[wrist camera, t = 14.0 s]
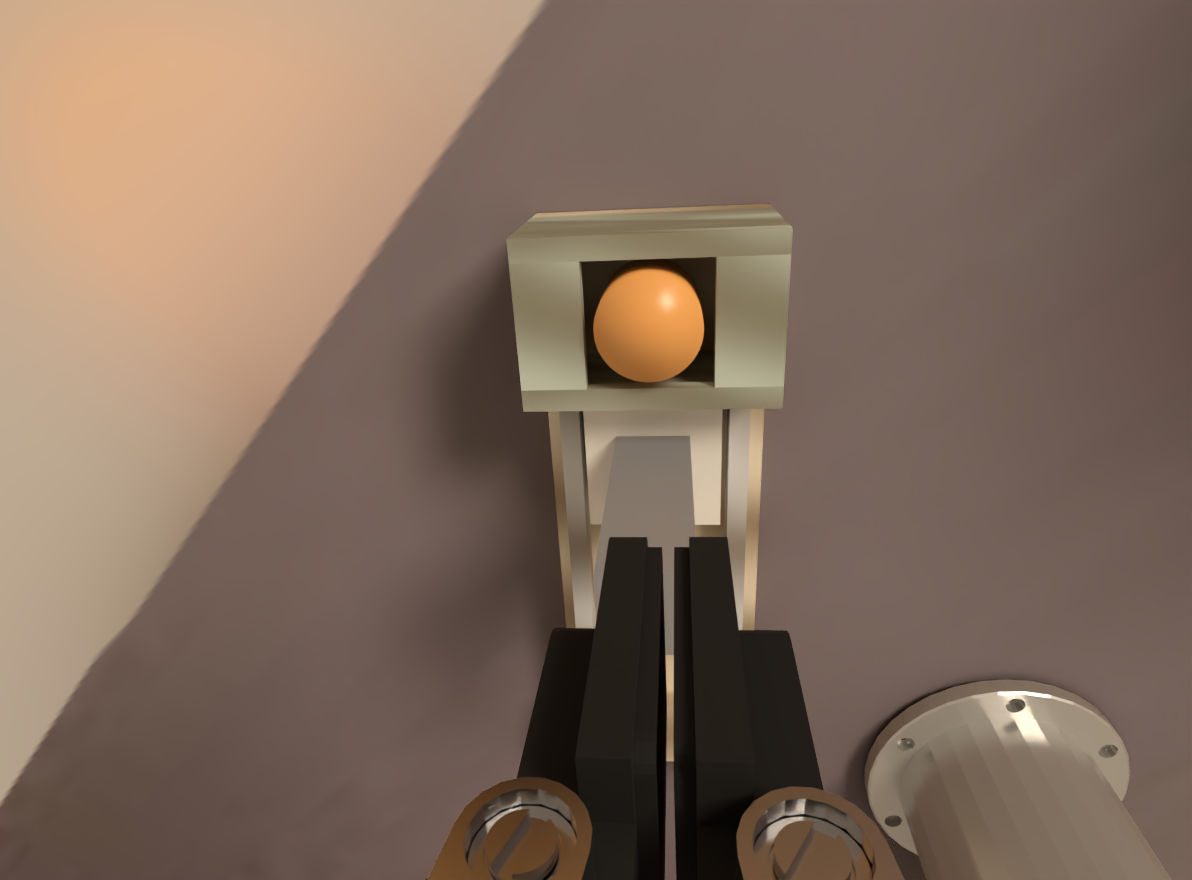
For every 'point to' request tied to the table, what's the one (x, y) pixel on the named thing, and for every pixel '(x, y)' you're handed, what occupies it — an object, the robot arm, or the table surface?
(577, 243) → the board
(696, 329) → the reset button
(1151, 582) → the table surface
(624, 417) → the carriage
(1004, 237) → the table surface
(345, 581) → the table surface
